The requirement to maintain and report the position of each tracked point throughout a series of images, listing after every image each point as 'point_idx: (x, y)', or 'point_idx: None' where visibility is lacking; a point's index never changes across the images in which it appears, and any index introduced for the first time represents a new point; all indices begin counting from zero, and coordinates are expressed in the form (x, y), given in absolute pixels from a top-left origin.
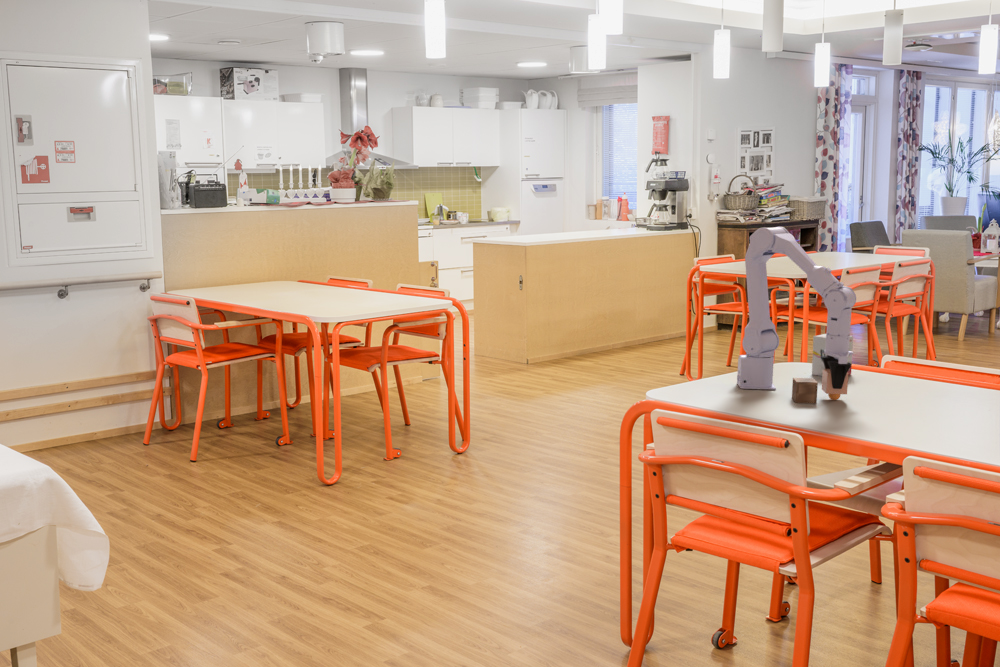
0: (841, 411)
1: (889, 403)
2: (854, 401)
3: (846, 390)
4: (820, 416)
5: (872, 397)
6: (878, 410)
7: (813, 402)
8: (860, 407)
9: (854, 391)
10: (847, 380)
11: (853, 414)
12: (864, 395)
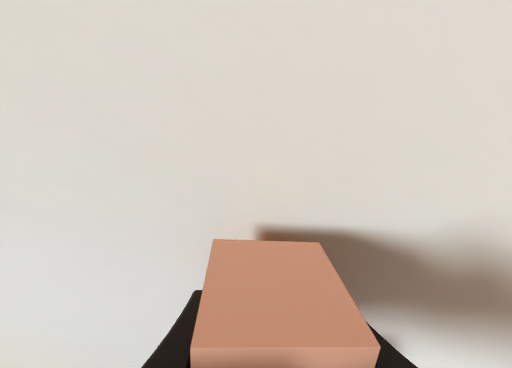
0: (449, 277)
1: (331, 4)
2: (284, 181)
3: (324, 257)
4: (495, 348)
5: (182, 51)
6: (465, 129)
7: None
8: (399, 190)
9: (35, 106)
10: (351, 300)
11: (500, 250)
12: (135, 82)
